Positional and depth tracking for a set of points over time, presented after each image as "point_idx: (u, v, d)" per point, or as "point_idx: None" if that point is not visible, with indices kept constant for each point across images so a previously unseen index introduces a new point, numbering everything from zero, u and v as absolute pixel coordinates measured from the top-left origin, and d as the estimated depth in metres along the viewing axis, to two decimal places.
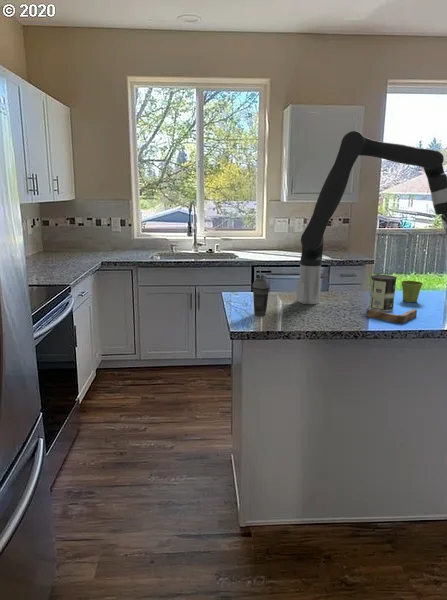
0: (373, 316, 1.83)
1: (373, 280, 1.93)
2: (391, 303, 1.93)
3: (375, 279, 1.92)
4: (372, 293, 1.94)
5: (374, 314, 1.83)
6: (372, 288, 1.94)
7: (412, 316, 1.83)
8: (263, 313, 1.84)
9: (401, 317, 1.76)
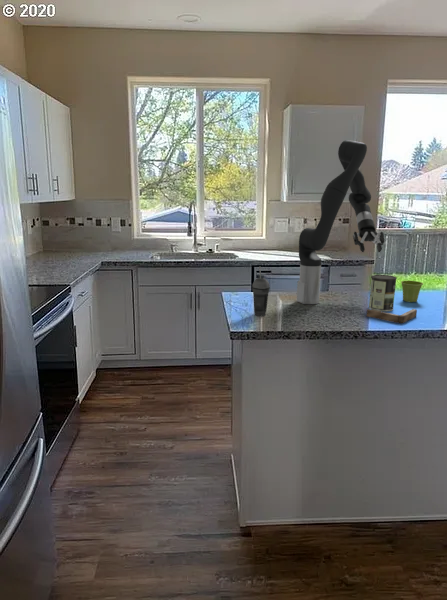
0: (373, 316, 1.83)
1: (373, 280, 1.93)
2: (391, 303, 1.93)
3: (375, 279, 1.92)
4: (372, 293, 1.94)
5: (374, 314, 1.83)
6: (372, 288, 1.94)
7: (412, 316, 1.83)
8: (263, 313, 1.84)
9: (401, 317, 1.76)
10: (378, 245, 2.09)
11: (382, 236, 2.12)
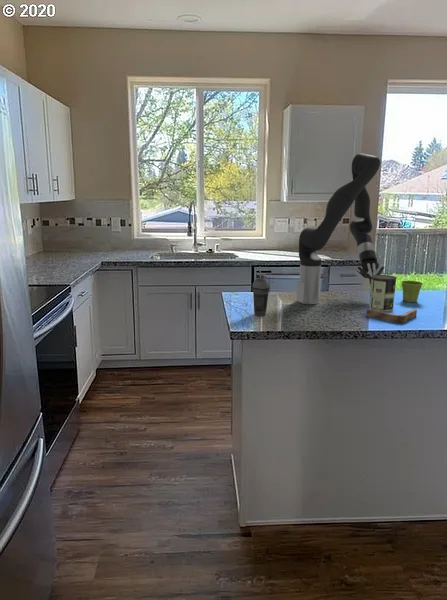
0: (373, 316, 1.83)
1: (373, 280, 1.93)
2: (391, 303, 1.93)
3: (375, 279, 1.92)
4: (372, 293, 1.94)
5: (374, 314, 1.83)
6: (372, 288, 1.94)
7: (412, 316, 1.83)
8: (263, 313, 1.84)
9: (401, 317, 1.76)
10: None
11: (380, 270, 2.09)
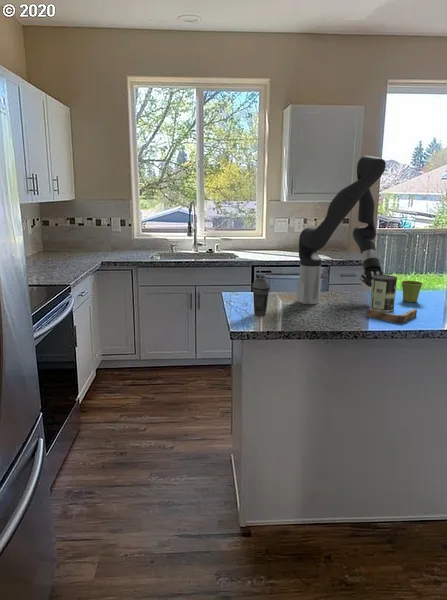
0: (373, 316, 1.83)
1: (374, 280, 1.92)
2: (392, 303, 1.92)
3: (376, 279, 1.91)
4: (373, 293, 1.94)
5: (374, 314, 1.83)
6: (373, 288, 1.93)
7: (412, 316, 1.83)
8: (263, 313, 1.84)
9: (401, 317, 1.76)
10: None
11: None
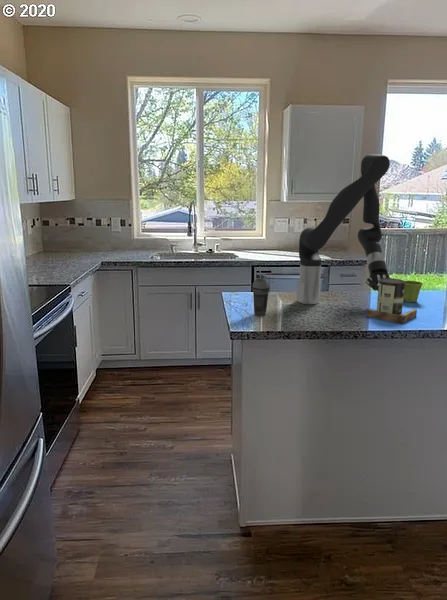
0: (373, 316, 1.83)
1: (381, 284, 1.85)
2: (400, 308, 1.85)
3: (383, 283, 1.84)
4: (380, 298, 1.86)
5: (374, 314, 1.83)
6: (380, 292, 1.86)
7: (412, 316, 1.83)
8: (263, 313, 1.84)
9: (401, 317, 1.76)
10: None
11: None
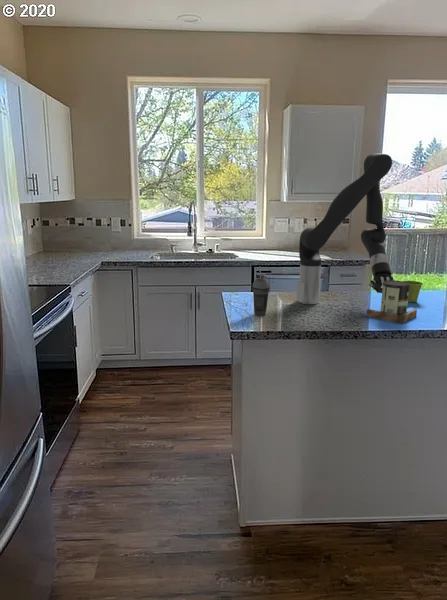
0: (373, 316, 1.83)
1: (385, 287, 1.81)
2: (404, 311, 1.81)
3: (388, 286, 1.79)
4: (384, 300, 1.82)
5: (374, 314, 1.83)
6: (384, 295, 1.82)
7: (412, 316, 1.83)
8: (263, 313, 1.84)
9: (401, 317, 1.76)
10: None
11: None
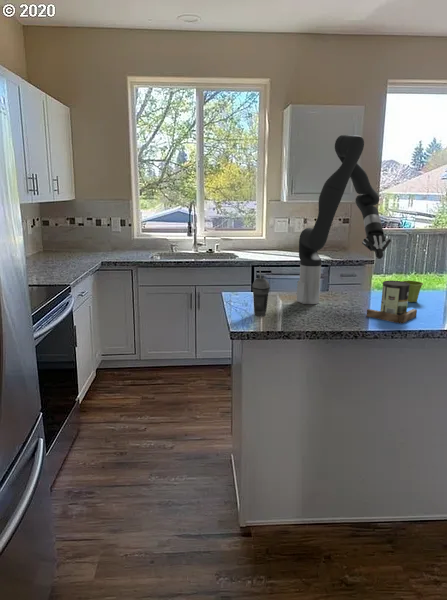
0: (373, 316, 1.83)
1: (385, 287, 1.81)
2: (404, 311, 1.81)
3: (387, 286, 1.79)
4: (384, 300, 1.82)
5: (374, 314, 1.83)
6: (384, 295, 1.82)
7: (412, 316, 1.83)
8: (263, 313, 1.84)
9: (401, 317, 1.76)
10: None
11: (387, 243, 2.01)
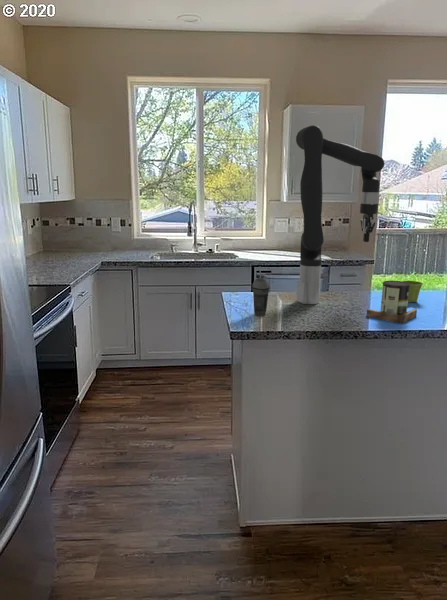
0: (373, 316, 1.83)
1: (385, 287, 1.81)
2: (404, 311, 1.81)
3: (387, 286, 1.79)
4: (384, 300, 1.82)
5: (374, 314, 1.83)
6: (384, 295, 1.82)
7: (412, 316, 1.83)
8: (263, 313, 1.84)
9: (401, 317, 1.76)
10: None
11: (367, 226, 2.00)
